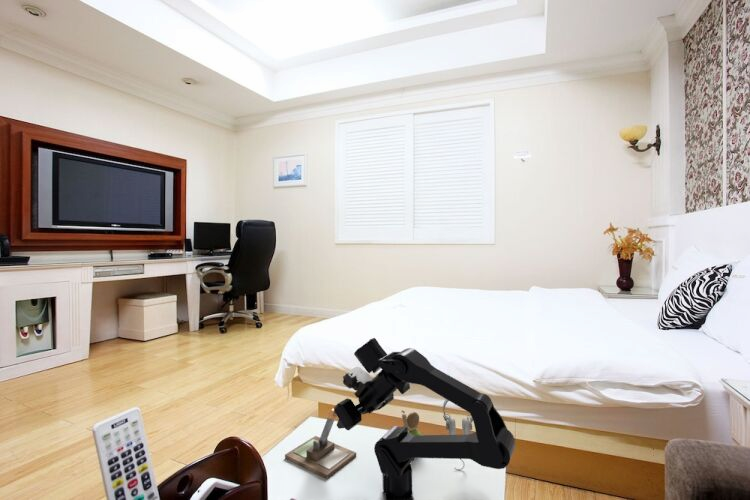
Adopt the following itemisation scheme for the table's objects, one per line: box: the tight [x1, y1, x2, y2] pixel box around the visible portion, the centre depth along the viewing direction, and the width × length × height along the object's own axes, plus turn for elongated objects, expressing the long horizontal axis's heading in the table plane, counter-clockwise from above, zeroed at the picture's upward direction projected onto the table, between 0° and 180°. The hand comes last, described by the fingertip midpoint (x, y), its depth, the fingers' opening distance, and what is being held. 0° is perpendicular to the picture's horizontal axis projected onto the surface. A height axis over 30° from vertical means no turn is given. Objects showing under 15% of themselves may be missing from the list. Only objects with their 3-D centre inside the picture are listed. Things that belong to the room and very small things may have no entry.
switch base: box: [284, 435, 357, 480], centre depth 102 cm, size 16×12×5 cm
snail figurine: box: [401, 409, 422, 435], centre depth 106 cm, size 5×6×12 cm
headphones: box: [442, 399, 474, 471], centre depth 95 cm, size 8×4×20 cm, turn 85°
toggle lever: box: [319, 407, 338, 448], centre depth 100 cm, size 3×3×12 cm
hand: (348, 419), depth 96 cm, fingers open, 8 cm apart
